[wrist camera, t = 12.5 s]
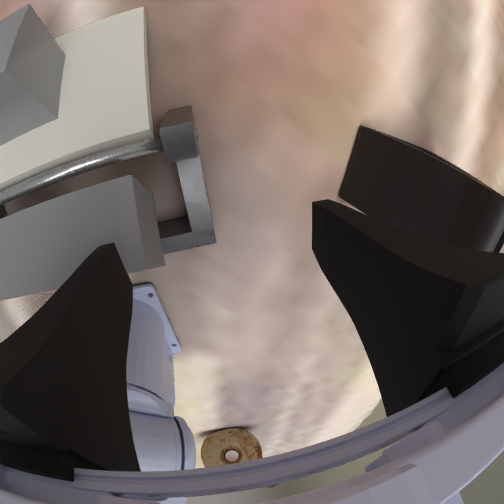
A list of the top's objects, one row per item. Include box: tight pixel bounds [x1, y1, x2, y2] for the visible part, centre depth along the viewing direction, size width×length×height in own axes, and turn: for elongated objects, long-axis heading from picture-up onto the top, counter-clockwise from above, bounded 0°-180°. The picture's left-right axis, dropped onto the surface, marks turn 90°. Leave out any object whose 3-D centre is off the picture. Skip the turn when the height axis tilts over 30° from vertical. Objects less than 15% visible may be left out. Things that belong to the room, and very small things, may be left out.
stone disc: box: [201, 428, 262, 468], centre depth 40 cm, size 10×4×10 cm, turn 91°
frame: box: [0, 106, 216, 254], centre depth 15 cm, size 9×18×7 cm, turn 96°
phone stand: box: [339, 125, 504, 253], centre depth 17 cm, size 9×6×12 cm, turn 78°
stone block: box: [0, 4, 66, 146], centre depth 8 cm, size 4×4×5 cm
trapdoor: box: [0, 7, 165, 301], centre depth 13 cm, size 15×14×4 cm
